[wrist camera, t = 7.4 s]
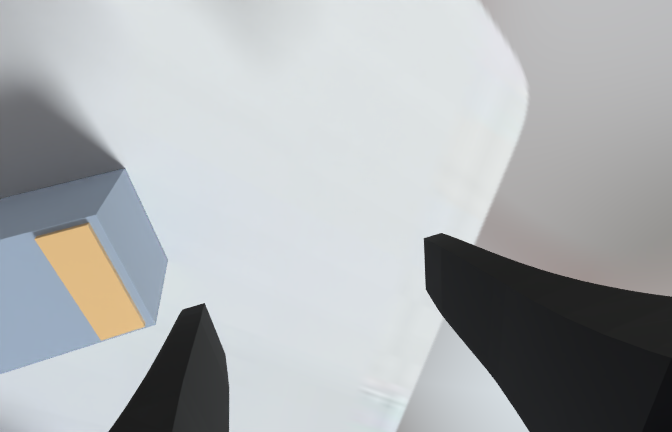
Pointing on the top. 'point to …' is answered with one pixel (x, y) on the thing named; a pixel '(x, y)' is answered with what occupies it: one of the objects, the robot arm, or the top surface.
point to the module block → (75, 268)
